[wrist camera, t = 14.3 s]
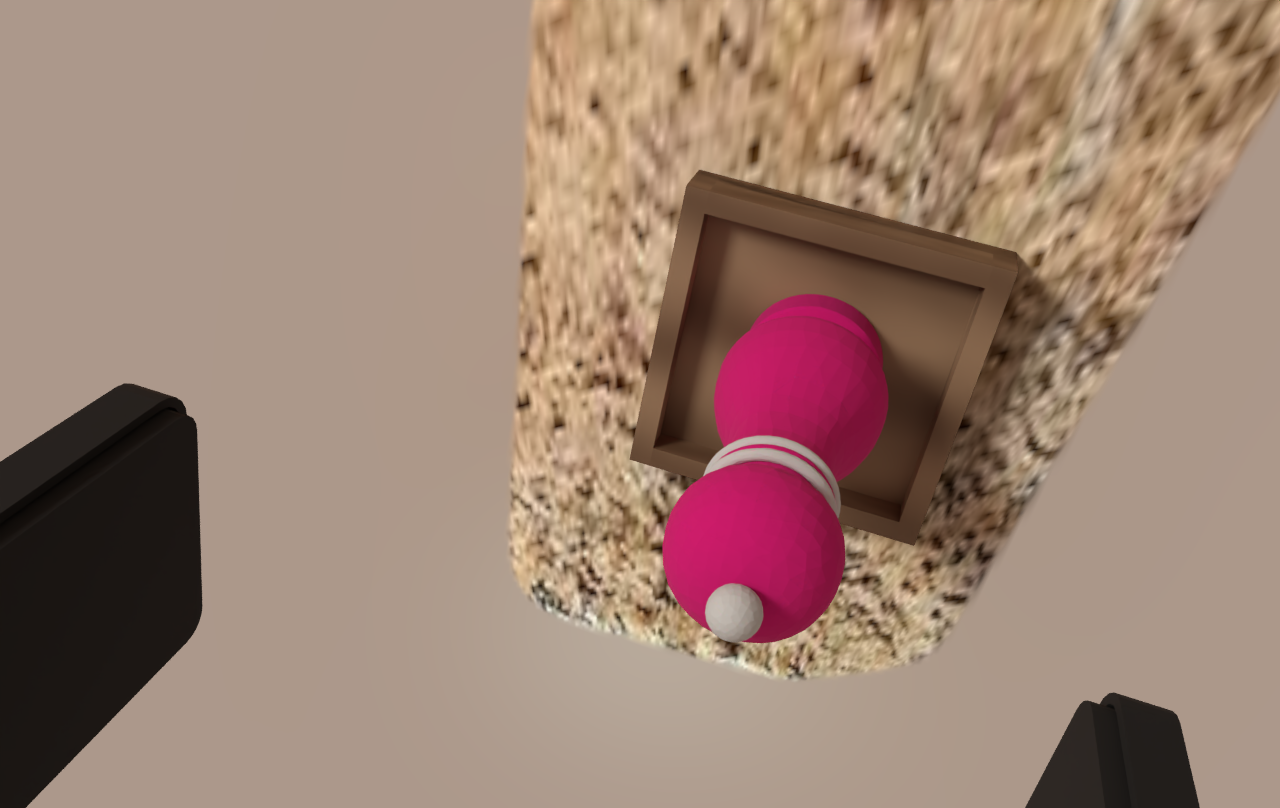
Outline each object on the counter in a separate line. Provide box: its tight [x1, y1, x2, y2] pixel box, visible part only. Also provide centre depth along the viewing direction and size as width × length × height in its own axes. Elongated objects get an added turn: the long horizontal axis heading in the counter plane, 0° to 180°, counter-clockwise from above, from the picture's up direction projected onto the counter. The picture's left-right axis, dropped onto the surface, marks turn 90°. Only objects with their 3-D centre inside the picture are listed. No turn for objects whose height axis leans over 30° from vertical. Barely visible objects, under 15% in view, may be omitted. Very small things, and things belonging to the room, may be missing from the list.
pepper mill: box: [663, 294, 888, 643], centre depth 41 cm, size 7×7×20 cm
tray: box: [630, 170, 1018, 545], centre depth 50 cm, size 14×14×2 cm
